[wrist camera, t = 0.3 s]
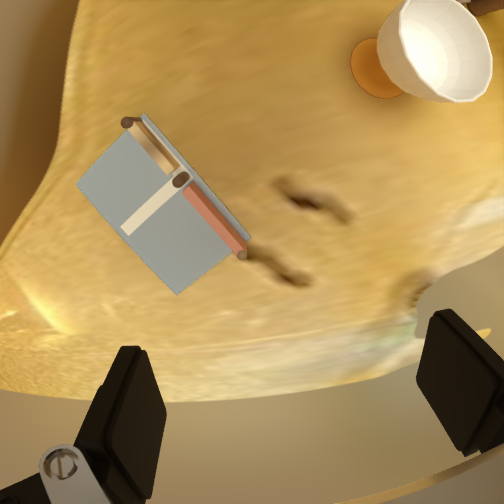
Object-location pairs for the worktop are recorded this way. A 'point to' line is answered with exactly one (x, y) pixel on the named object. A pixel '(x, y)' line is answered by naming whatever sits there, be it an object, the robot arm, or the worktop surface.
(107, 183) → the card
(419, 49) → the cup
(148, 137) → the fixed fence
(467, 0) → the wooden toy
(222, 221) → the bar
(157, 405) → the robot arm
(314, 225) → the worktop surface
